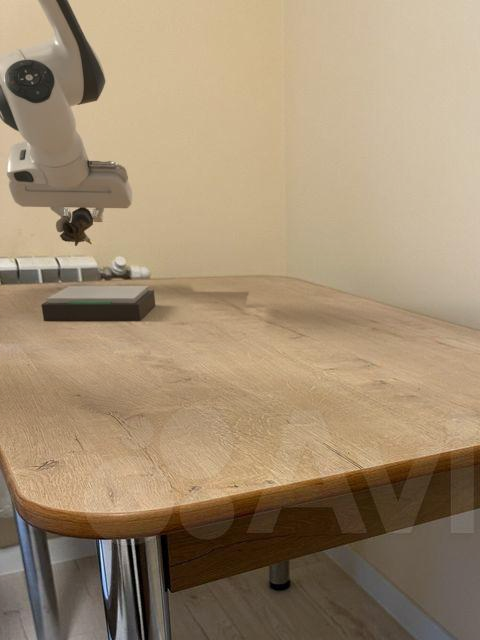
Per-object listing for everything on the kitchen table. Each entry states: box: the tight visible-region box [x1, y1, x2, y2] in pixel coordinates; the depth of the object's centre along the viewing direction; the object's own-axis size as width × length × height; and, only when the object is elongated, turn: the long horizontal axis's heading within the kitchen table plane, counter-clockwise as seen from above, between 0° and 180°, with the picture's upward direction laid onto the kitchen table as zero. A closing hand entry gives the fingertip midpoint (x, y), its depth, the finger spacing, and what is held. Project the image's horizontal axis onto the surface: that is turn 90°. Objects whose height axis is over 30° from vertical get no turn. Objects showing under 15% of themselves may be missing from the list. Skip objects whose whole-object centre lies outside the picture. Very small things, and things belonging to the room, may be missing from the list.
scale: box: [41, 285, 156, 322], centre depth 111 cm, size 14×14×3 cm
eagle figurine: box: [55, 208, 94, 247], centre depth 133 cm, size 8×7×9 cm
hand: (83, 219), depth 133 cm, fingers closed on eagle figurine, 4 cm apart
